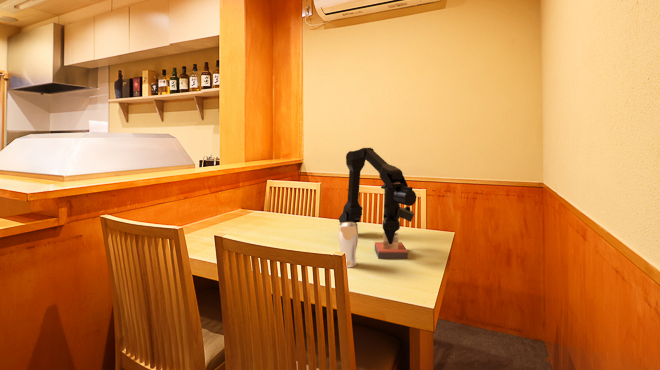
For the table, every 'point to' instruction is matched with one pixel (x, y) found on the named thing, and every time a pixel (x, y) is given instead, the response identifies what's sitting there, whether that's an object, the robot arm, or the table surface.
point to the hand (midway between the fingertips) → (390, 240)
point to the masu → (394, 243)
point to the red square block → (391, 251)
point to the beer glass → (349, 241)
